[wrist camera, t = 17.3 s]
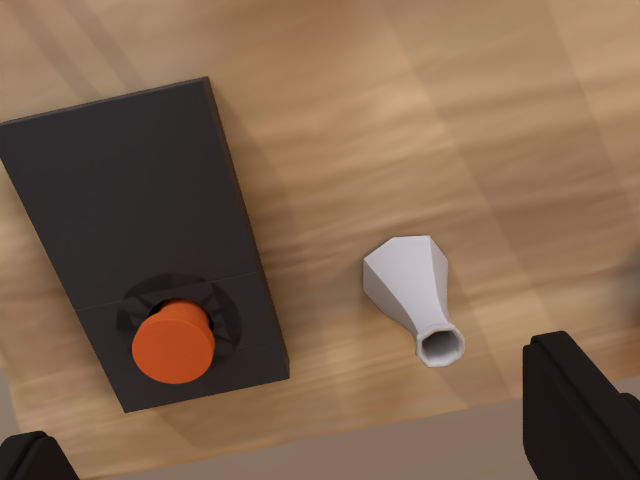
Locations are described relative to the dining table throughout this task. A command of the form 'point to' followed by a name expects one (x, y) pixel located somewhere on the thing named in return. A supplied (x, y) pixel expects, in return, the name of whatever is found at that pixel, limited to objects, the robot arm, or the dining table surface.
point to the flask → (415, 295)
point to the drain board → (148, 232)
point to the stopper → (175, 342)
